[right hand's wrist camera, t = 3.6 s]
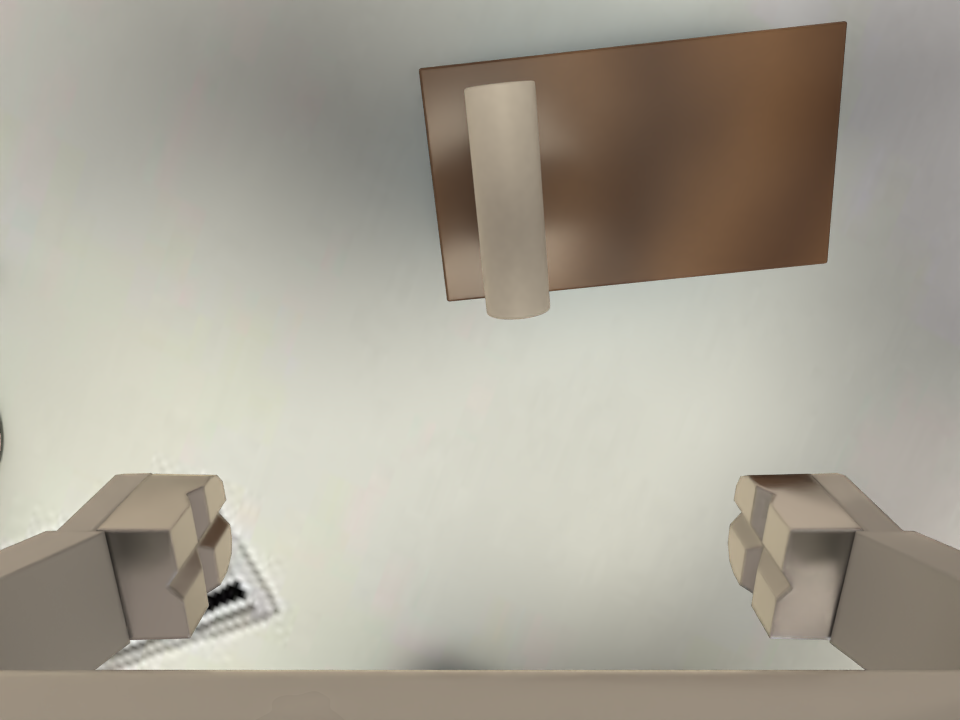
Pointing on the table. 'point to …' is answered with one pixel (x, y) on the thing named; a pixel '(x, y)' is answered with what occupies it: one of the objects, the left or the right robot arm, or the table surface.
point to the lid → (633, 163)
